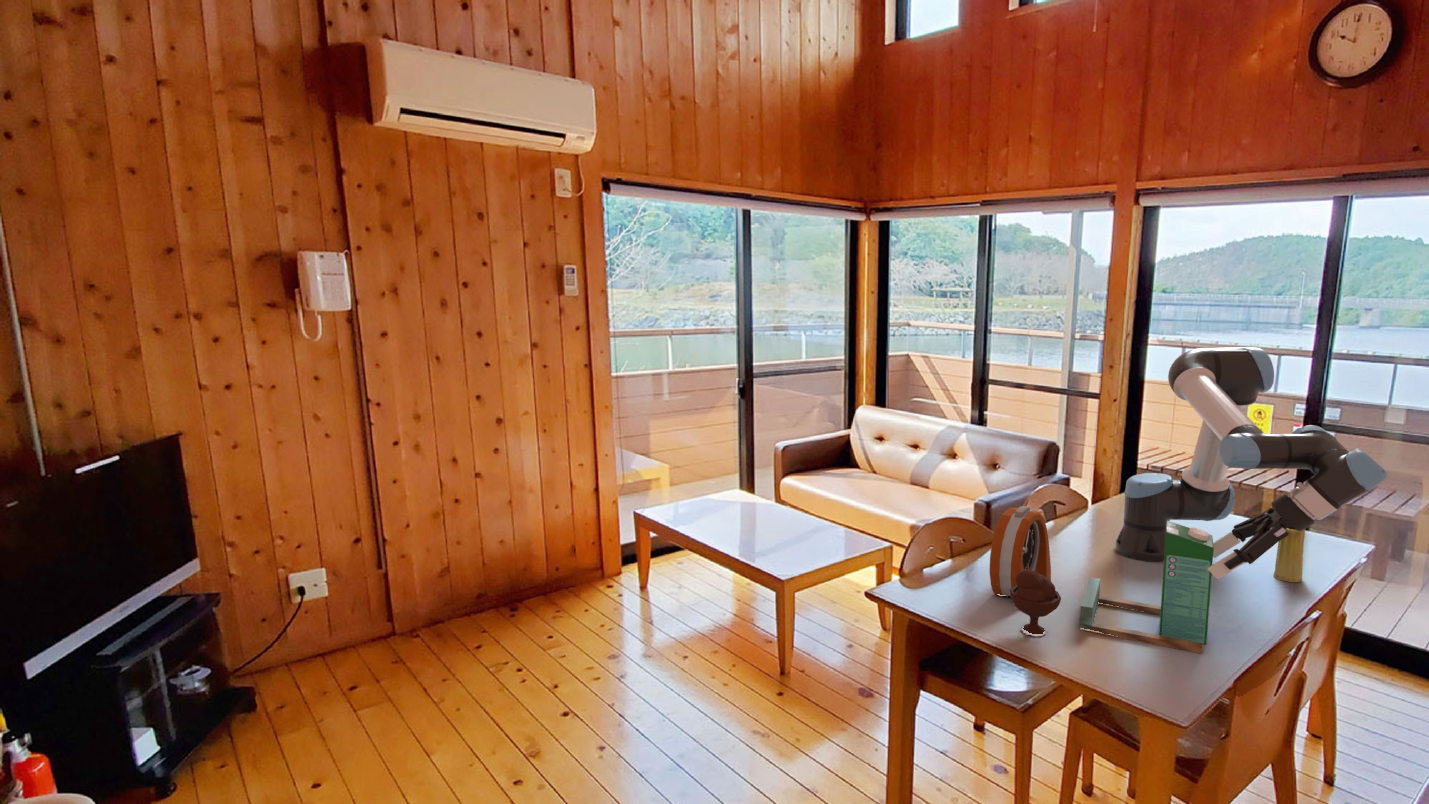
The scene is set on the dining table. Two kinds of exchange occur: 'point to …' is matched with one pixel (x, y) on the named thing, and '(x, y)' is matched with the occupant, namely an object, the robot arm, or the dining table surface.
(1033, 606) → the ice cream bowl
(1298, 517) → the robot arm
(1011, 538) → the alarm clock
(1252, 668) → the dining table surface
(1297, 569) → the vase
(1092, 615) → the track
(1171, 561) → the milk carton
